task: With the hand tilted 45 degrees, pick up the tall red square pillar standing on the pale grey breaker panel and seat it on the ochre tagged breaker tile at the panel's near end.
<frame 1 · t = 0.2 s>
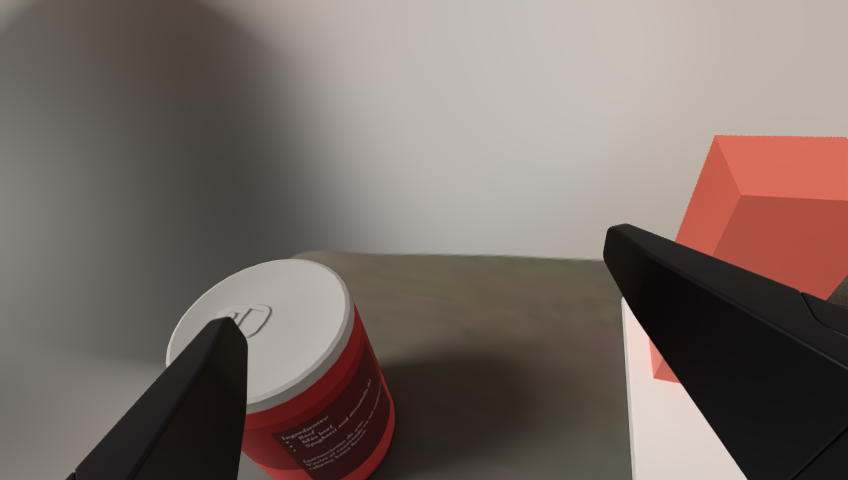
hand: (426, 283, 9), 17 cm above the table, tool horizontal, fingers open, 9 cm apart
canned food: (334, 431, 24), on the table
tall red square pillar: (691, 352, 24), point 1 cm above the table, touching breaker panel
breaker panel: (784, 461, 20), on the table
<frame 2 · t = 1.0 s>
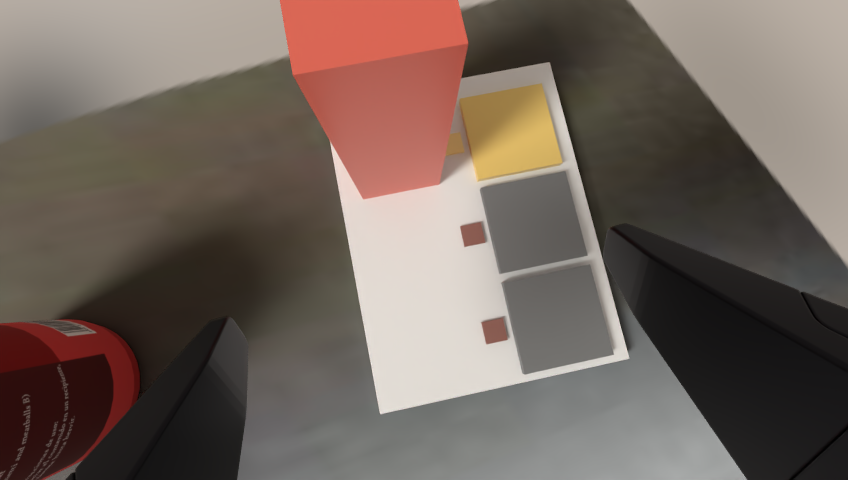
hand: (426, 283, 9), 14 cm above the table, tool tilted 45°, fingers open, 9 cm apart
tagged breaker: (505, 139, 24), resting on breaker panel
canned food: (76, 387, 22), on the table
tall red square pillar: (393, 155, 23), point 1 cm above the table, touching breaker panel
breaker panel: (468, 228, 23), on the table
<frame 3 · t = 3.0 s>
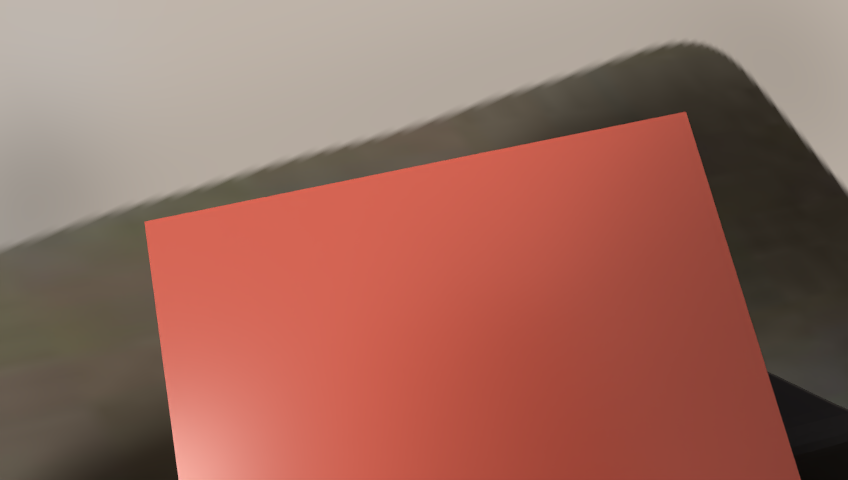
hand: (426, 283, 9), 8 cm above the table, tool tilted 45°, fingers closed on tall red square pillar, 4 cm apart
tall red square pillar: (429, 319, 16), point 1 cm above the table, touching breaker panel, gripper
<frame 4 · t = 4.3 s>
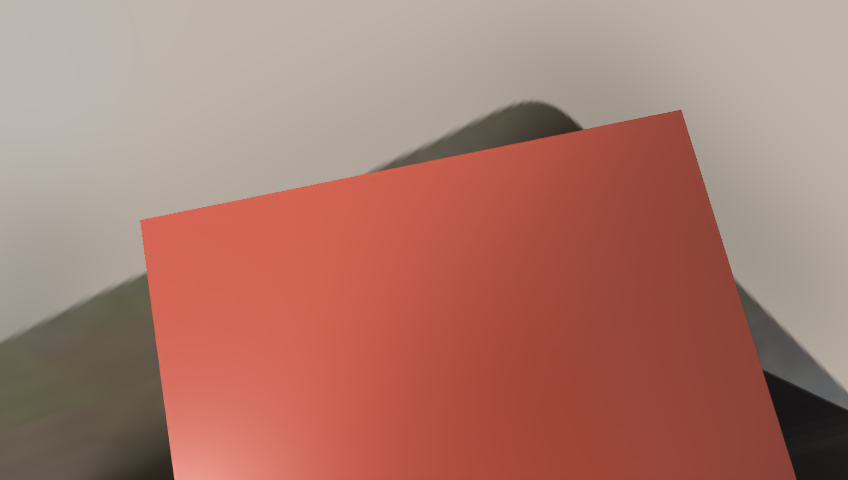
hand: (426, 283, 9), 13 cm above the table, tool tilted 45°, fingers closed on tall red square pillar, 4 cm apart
tall red square pillar: (428, 319, 16), point 7 cm above the table, touching gripper
when the fingers open (9 cm above the table, at t = 5.6 s): tall red square pillar drops 1 cm, resting on tagged breaker.
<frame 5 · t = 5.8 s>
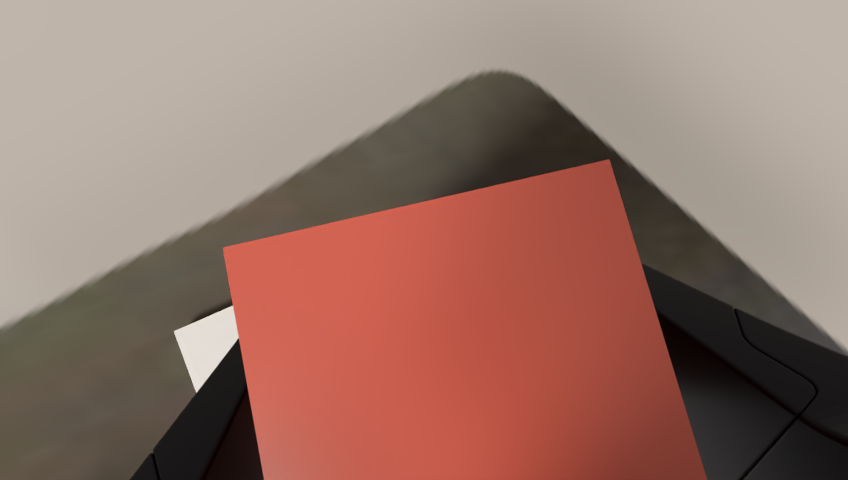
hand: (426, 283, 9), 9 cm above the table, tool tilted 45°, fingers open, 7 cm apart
tall red square pillar: (428, 317, 17), point 1 cm above the table, touching tagged breaker
breaker panel: (402, 451, 18), on the table
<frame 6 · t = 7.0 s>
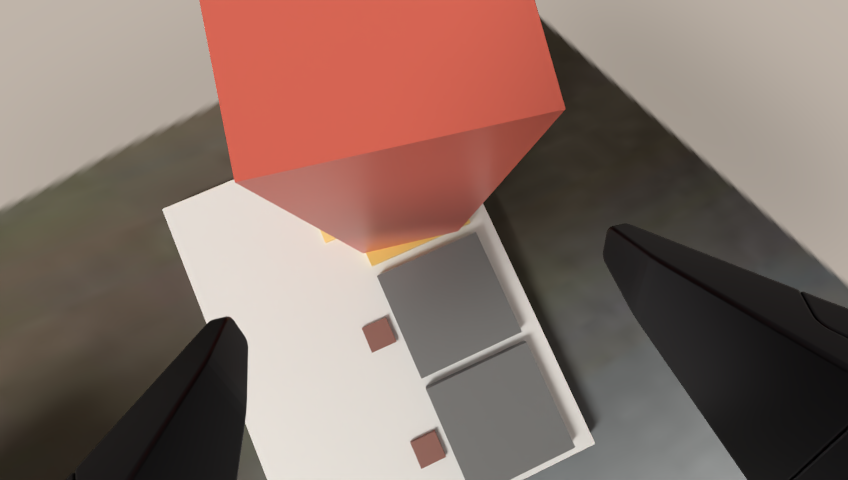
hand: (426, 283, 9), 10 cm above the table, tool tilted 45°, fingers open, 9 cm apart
tagged breaker: (400, 201, 20), resting on breaker panel
tall red square pillar: (399, 195, 18), point 1 cm above the table, touching tagged breaker
breaker panel: (376, 322, 19), on the table
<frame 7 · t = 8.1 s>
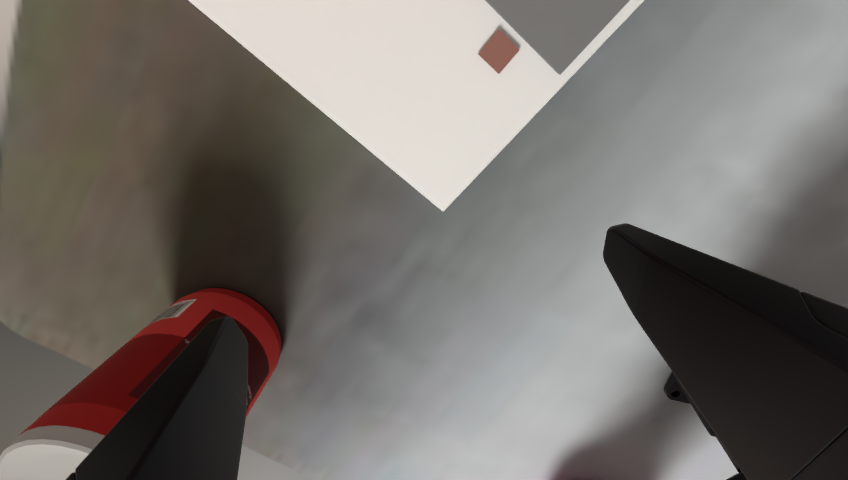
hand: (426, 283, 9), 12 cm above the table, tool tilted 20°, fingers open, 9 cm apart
canned food: (231, 331, 26), on the table
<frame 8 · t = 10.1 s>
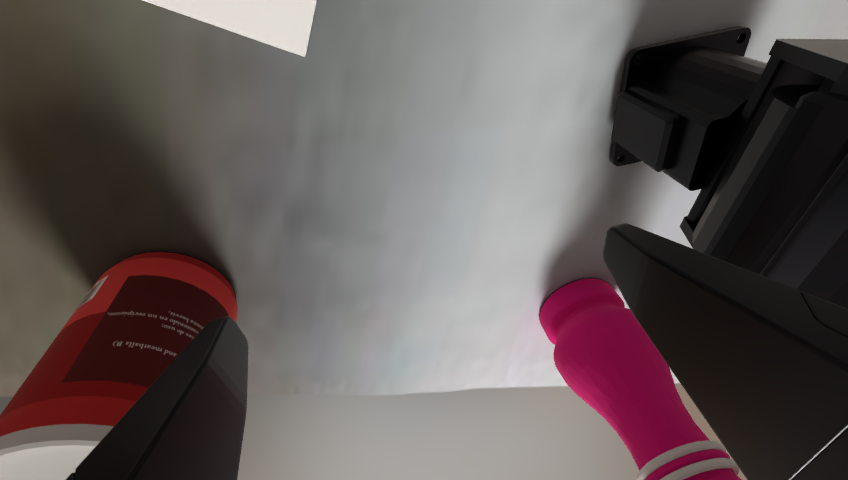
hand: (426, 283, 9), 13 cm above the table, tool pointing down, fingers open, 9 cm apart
canned food: (174, 295, 25), on the table
pepper mill: (574, 304, 32), on the table
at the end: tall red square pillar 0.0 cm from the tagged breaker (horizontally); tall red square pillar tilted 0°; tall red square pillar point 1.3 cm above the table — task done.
